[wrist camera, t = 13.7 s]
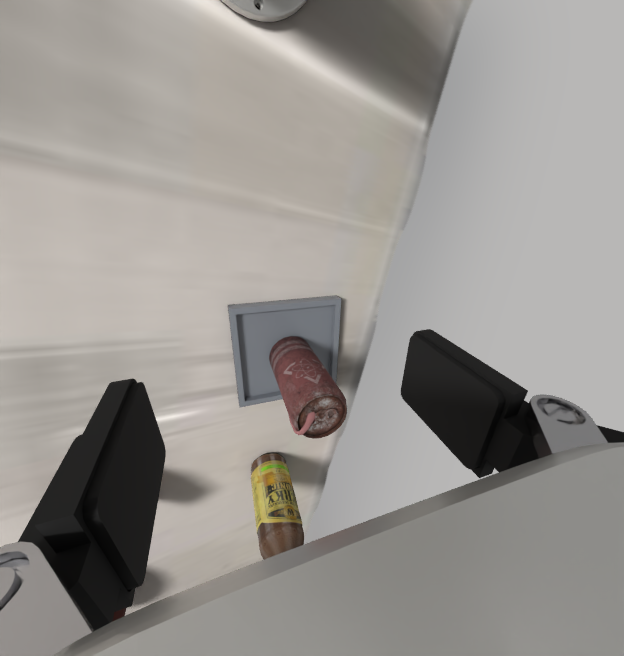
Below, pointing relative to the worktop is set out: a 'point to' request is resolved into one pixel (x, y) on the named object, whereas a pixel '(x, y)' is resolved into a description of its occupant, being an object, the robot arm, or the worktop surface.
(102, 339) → the worktop surface
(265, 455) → the sauce bottle
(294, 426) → the can
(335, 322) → the tray
